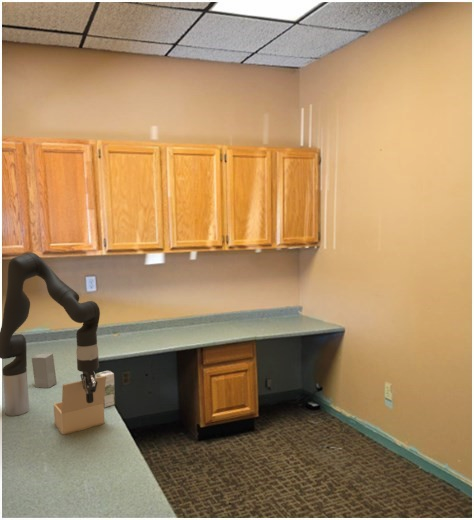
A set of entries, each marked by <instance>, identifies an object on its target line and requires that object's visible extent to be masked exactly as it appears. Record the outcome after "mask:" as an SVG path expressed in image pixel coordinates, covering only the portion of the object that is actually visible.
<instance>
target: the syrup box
mask: <svg viewBox="0 0 474 520" xmlns="http://www.w3.org/2000/svg"><path fill="white" fill-rule="evenodd" d="M95 376H96V377H101V376H106V384H105V396H104V409H106V408H109V407H112V406H115V405H116V395H115V392H116V391H115V373H114V372H112V371H111V370H104V371H101V372H97V373H95Z"/></svg>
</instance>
